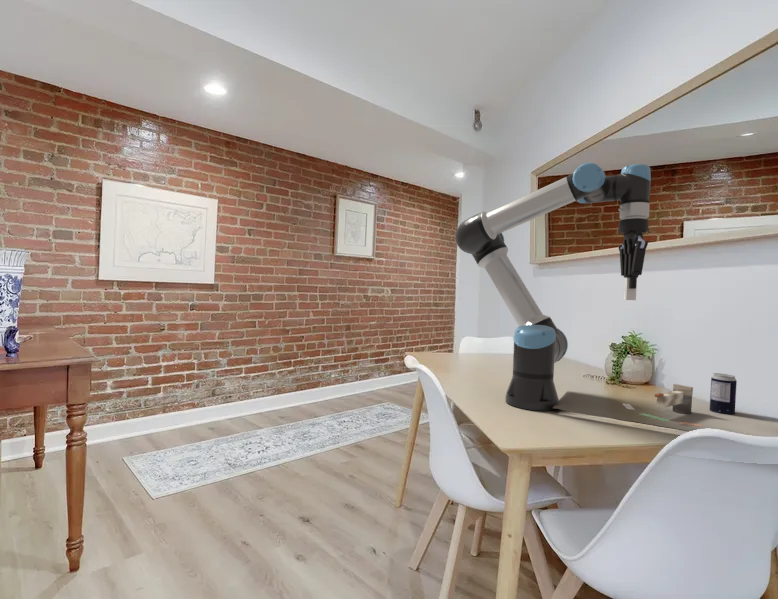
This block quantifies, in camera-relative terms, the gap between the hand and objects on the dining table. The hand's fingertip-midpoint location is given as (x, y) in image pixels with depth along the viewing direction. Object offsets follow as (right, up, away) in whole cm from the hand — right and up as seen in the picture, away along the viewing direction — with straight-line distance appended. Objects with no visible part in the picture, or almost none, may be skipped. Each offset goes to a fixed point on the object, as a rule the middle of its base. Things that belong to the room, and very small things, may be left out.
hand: (629, 299), depth 124 cm
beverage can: (+25, -34, -3) cm, 42 cm away
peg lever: (+6, -31, -9) cm, 33 cm away
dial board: (+4, -33, -7) cm, 34 cm away
